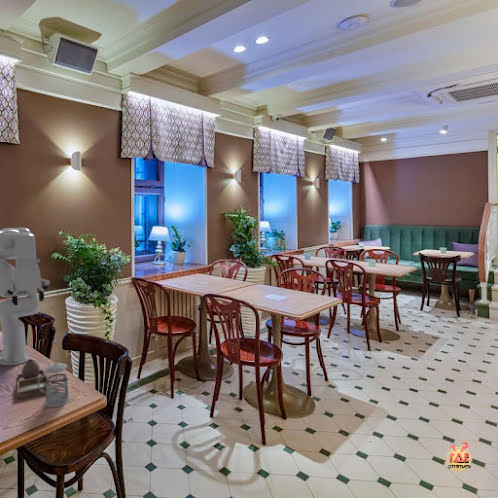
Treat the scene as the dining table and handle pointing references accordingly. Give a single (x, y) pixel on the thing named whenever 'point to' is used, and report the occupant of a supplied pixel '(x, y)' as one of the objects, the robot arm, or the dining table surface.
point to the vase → (30, 370)
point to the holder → (31, 387)
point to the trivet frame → (22, 376)
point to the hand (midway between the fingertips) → (28, 302)
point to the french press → (54, 396)
